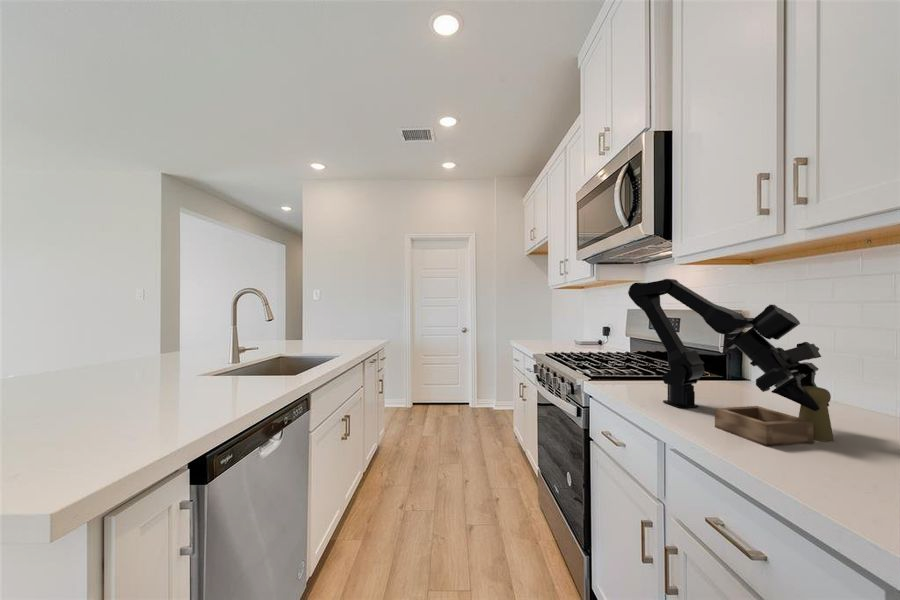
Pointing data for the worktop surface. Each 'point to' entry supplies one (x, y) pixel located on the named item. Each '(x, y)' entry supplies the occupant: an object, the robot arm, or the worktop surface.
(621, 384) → the worktop surface
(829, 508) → the worktop surface
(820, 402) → the cork
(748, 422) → the socket block
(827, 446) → the worktop surface
